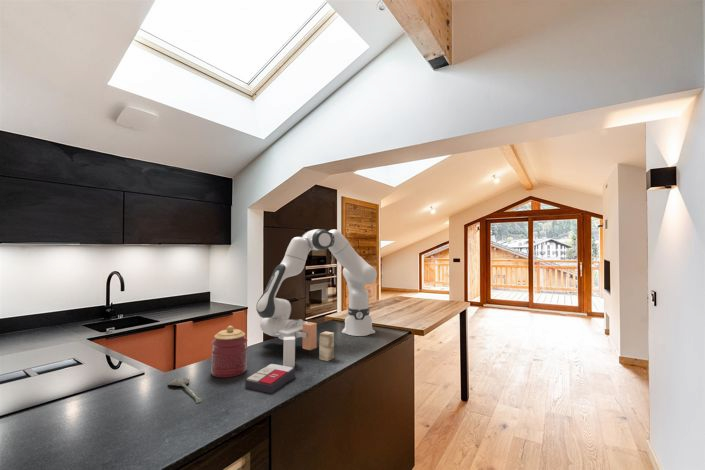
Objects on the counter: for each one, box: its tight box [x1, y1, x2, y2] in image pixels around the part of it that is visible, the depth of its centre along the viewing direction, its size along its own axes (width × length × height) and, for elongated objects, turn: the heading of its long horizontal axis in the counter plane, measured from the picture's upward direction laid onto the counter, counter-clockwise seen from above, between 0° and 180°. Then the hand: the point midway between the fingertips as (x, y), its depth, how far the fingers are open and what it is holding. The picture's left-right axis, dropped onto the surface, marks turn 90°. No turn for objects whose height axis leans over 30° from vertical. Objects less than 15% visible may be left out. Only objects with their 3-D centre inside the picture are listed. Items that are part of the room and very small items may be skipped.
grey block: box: [282, 336, 296, 368], centre depth 136 cm, size 4×4×11 cm
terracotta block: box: [301, 321, 318, 351], centre depth 150 cm, size 4×4×11 cm
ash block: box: [318, 331, 335, 362], centre depth 144 cm, size 4×4×11 cm
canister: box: [210, 325, 248, 378], centre depth 128 cm, size 13×13×18 cm
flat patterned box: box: [244, 363, 296, 394], centre depth 119 cm, size 11×4×15 cm
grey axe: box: [167, 377, 202, 404], centre depth 111 cm, size 22×3×7 cm
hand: (311, 333), depth 149 cm, fingers closed on terracotta block, 4 cm apart
